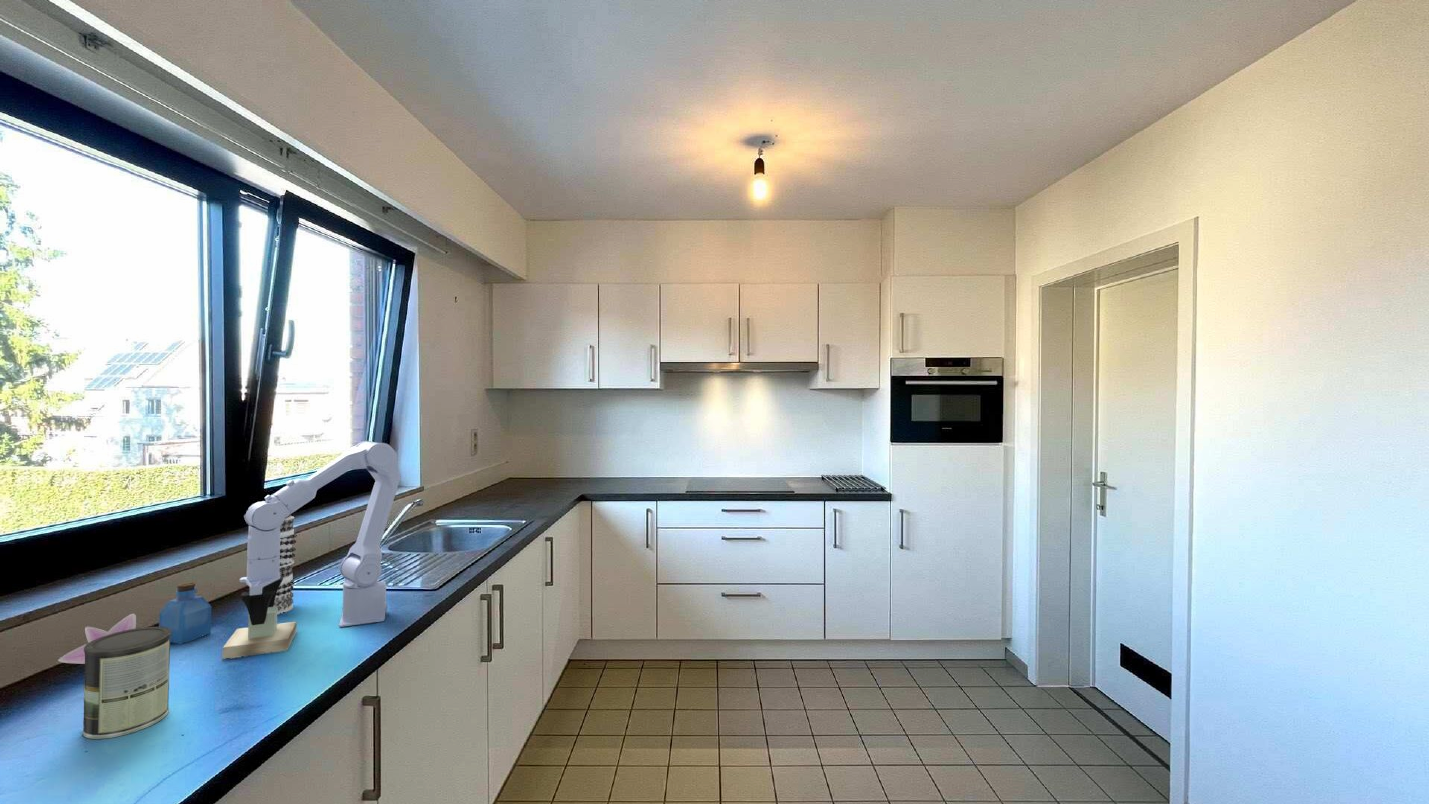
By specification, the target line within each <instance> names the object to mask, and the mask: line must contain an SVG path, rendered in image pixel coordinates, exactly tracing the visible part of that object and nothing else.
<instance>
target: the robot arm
mask: <svg viewBox="0 0 1429 804" xmlns="http://www.w3.org/2000/svg"><path fill="white" fill-rule="evenodd" d="M397 460H398V453H397V452H396V451H395V450H394V448H393V447H392V446H391V445H390V444H388V443H385V442H376V441H375V442H374V441H372V440H363V441H361V442H359V443H357V444H356V445H355V446H352V447H350V448H348V449H347V450H345V451H344V452H342V454H340V455H339V456H338V457H336V458H334V459H333V460H332V461H330V462H329V463H328V464H326V465H325V466H322V468H320V469H319V470H318V471H316V472H314V473H313V474H312V475H311V476H309V477H308V478H296V479H294V480H292V479H289V480H288V481H286V482H285V486H283V487H282V488H280V489H279V490H277V491H276V492H274V493H272V494H271V495H270V494H267V495H266V496H265V497H264V500H262V501H257V502H255V503H252V504H251V505H250V506H249V507H248V509H247V510H246V513H245V514H244V515H243V518H244V520H245V522H246V524H247V525H248V534H247V535H248V536H247V546H246V547H247V548H246V549H247V553H246V554H247V556H246V557H247V558H246V576H242V577H240V578H239V583H240V584H241V583H244V584H246V585H247V586H248V587H249V591H246V592H244V591H243V592H242V593H241V594H240V599H241V601H242V602H243V603H244V604H245V607H246V609H247V612H248V616H249V617H250V621H251V624H252V625H259V624H264V622H265V620H266V616H267V611H268V607H273V606H274V602H275V598H276V594H277V591H278V588H279V586H280V584H281V582H282V580H283V577H280V573H279V569H280V526H281V525H282V524H283V522H284V520H285V517H286V516H288V515H291V514H293V513H294V512H296V511H297V510H299V509H300V508H302V507H303V506H304V505H306V504H308V503H310V502H311V501H312V500H313V499H315V498H316V495H317V491H318V490H319V489H322V487H324V486H326V485H327V484H329V483H330V482H332V481H334V480H335V479H337V478H339V477H340V476H341V475H344V474H345V473H347V472H348V471H351V470H361V469H362V470H364V469H365V470H367V472H368V473H370V475H371V477H372V478H373V479H374V481H375V482H374V484H373V487H372V489H371V494H370V497H369V499H368V503H367V506H366V510H365V513H364V516H363V518H362V522H361V526H360V529H359V532H358V535H357V537H356V541H355V543H354V544H353V545H352V546H351V547H350V548H349V550H348V553H347V555H346V556H345V557H344V559H343V560H342V561H341V563H340V565H339V573H340V574H341V576H343V578H344V581H343V584H342V615H341V618H340V620H339V622H338V623H339V624H338V627H339V628H341V627H343V628H344V627H351V626H357V625H358V626H359V625H365V624H372V623H373V624H374V623H380V622H384V621H385V619H386V612H387V611H388V603H386V602H387V601H386V600H387V597H386V596H387V581H384V580H381V581H380V580H379V579H380V577H381V575H382V571H383V570H382V559H383V554H382V553H383V552H382V550H381V544H382V540H383V536H384V535H385V534H384V533H385V529H386V527H387V523H388V520H389V517H390V513H391V510H392V508H393V504H394V500H395V497H396V494H397V490H398V487H399V485H400V482H401V481H400V480H401V473H400V468H399V463H398V461H397Z"/></svg>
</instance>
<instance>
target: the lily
mask: <svg viewBox="0 0 1429 804" xmlns="http://www.w3.org/2000/svg"><path fill="white" fill-rule="evenodd" d="M136 626H137V615H136V614H135V613H130V614H129V615H126V616H125V617H124V618H123V619H121V620H120V621H118V622H117V623H115V625H113V626H112V627H110V629H109V630H108V631H106V630H104V629H101V628H98V627H93V626H86V627H85V628H84V632H85V633H84V634H85V637H86V640H87V643H86V644H88V643H89V642H91V641H93V640H95V639H98V638H100V637H103V636H106V635H109V634H112V633H116V632H120V631H125V630H130V629H136ZM86 644H83V645H81V646H78V647H77V648H75V649H73V650H71V651H69V652H67V653H66V654H64V655H63V656H61V657H60V658H59V659H58V660H57V661H58V662H59V663H63V664H64V663H65V664H80V665H81V664H82V665H83V664H84V665H85V653H84V647H85V645H86Z"/></svg>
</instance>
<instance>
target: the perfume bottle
mask: <svg viewBox="0 0 1429 804" xmlns="http://www.w3.org/2000/svg"><path fill="white" fill-rule="evenodd" d="M196 583H197V582H195V581H189V582H182V583H178V584H177V585H176V587H177V590H176V591H175V596H176V597H177V598H174V599H171V600H168V602H167V603H166V604H165V605H164V606H163V608H162V609H161V611H160V612H159V617H158V620H159V622H158V627H166V628H169V629H170V630H171V636H170V642H174V643H173V644H177V643H179V644H178V645H183V644H185V643H187V642H186V641H188V642H190V640H191V641H193V640H195V639H194V638H196V639H199V638H201V636H202V635H204V636H207V635H209V634H208V633H210V634H211V629H212V624H211V623H212V606H211V605H210V603H209V602H208V601H207V600H206V599H205V598H204V596H198V595H195V594H196V593H197V589H198V588H197V587H196ZM206 634H207V635H206ZM198 637H199V638H198ZM202 637H203V636H202ZM192 639H193V640H192ZM184 642H185V643H184Z"/></svg>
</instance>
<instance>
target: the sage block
mask: <svg viewBox="0 0 1429 804" xmlns="http://www.w3.org/2000/svg"><path fill="white" fill-rule="evenodd" d="M247 617H248V618H247V624H248V626H247V627H248V639H253V638H260V637H267V636H273V635H274V634H275V632H276V629H277V624H278V614H277V606H275V607H268V611H267V616H266V620H265V622H264V624H259V625H252V624H251V621H250V617H249V615H248V616H247Z"/></svg>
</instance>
